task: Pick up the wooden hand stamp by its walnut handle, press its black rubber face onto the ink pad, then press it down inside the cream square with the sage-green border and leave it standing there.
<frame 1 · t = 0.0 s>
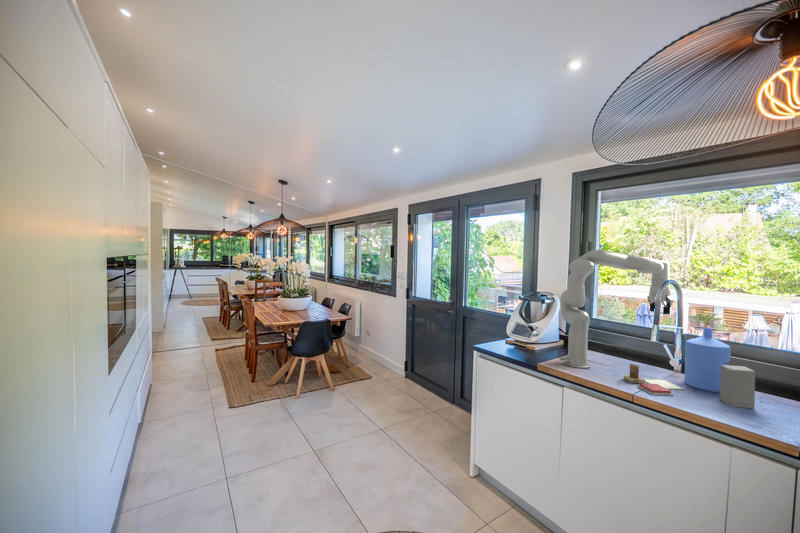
hand: (659, 312, 178), 31 cm above the counter, tool pointing down, fingers open, 9 cm apart
water jug: (706, 387, 151), on the counter
marked square: (661, 384, 152), on the counter
skincare box: (736, 405, 131), on the counter
ink pad: (654, 391, 144), on the counter
wooden stamp: (633, 381, 156), on the counter
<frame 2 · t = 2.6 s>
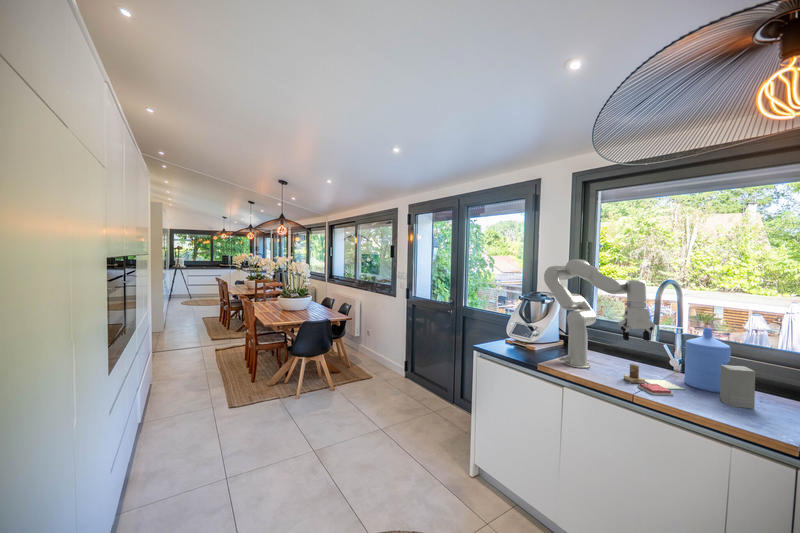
hand: (636, 340, 155), 21 cm above the counter, tool pointing down, fingers open, 9 cm apart
nothing on the counter moved.
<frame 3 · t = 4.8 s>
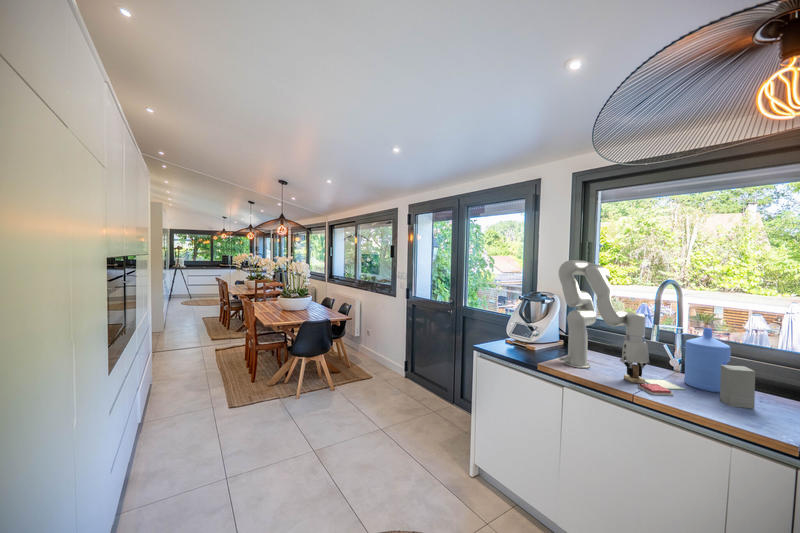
hand: (634, 375, 155), 3 cm above the counter, tool pointing down, fingers closed on wooden stamp, 3 cm apart
wooden stamp: (634, 381, 156), on the counter, touching gripper
everything else where it was.
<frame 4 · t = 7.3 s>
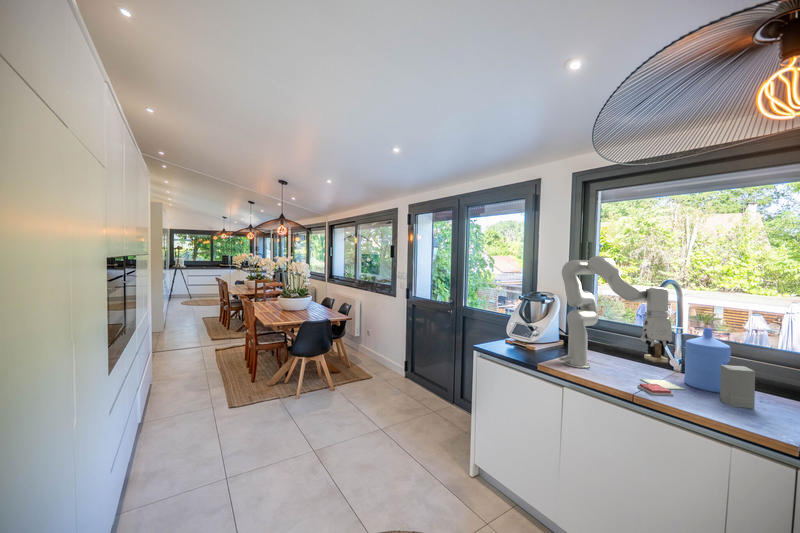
hand: (656, 354, 143), 17 cm above the counter, tool pointing down, fingers closed on wooden stamp, 3 cm apart
wooden stamp: (655, 361, 143), point 14 cm above the counter, touching gripper
everything else where it was.
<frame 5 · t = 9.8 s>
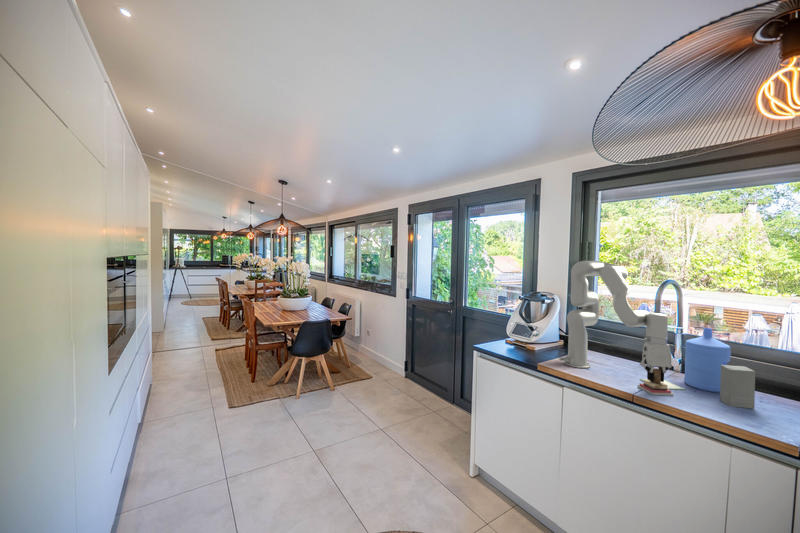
hand: (655, 380, 143), 5 cm above the counter, tool pointing down, fingers closed on wooden stamp, 3 cm apart
wooden stamp: (655, 387, 143), point 2 cm above the counter, touching gripper, ink pad
everything else where it was.
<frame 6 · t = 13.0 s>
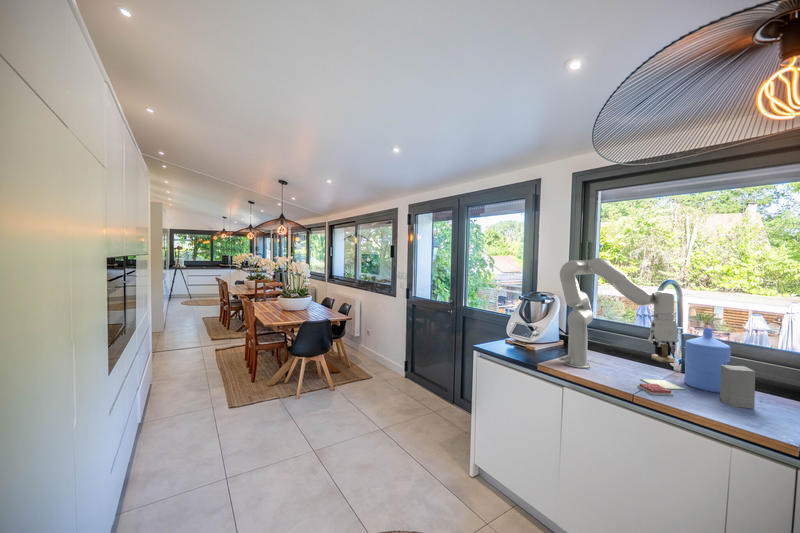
hand: (662, 354, 152), 15 cm above the counter, tool pointing down, fingers closed on wooden stamp, 3 cm apart
wooden stamp: (662, 360, 152), point 11 cm above the counter, touching gripper
everything else where it was.
when the fingers open (4 cm above the counter, at t = 15.1 s): wooden stamp stays where it is, resting on marked square.
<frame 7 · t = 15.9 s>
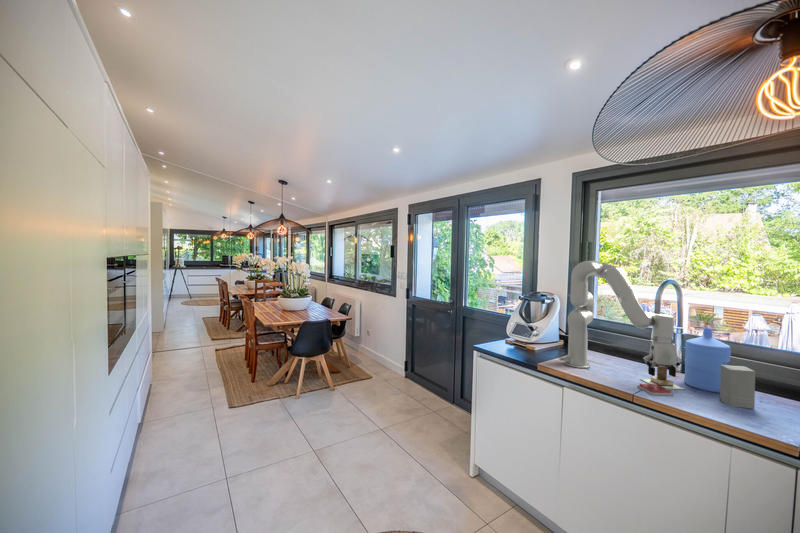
hand: (661, 375, 152), 4 cm above the counter, tool pointing down, fingers open, 9 cm apart
wooden stamp: (661, 383, 152), resting on marked square
everything else where it was.
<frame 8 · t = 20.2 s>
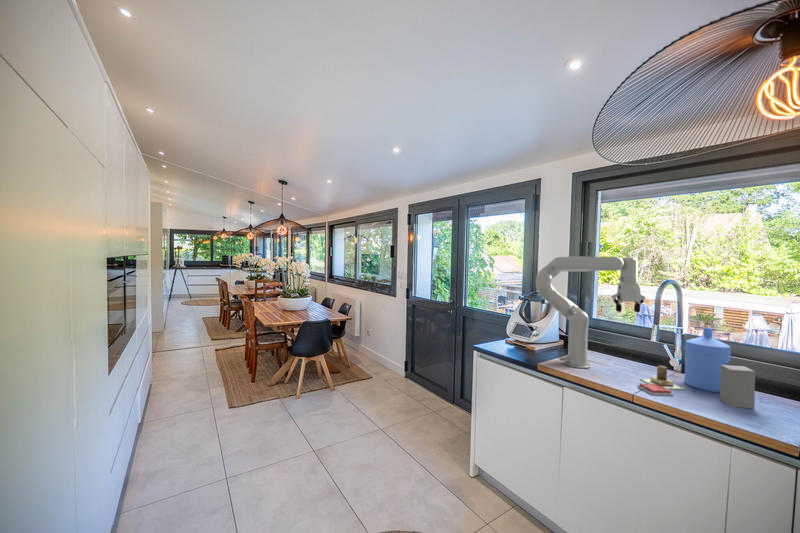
hand: (627, 311, 171), 32 cm above the counter, tool pointing down, fingers open, 9 cm apart
nothing on the counter moved.
at the end: wooden stamp 0.0 cm off-centre on the marked square, point 0.4 cm above the marked square's base; wooden stamp tilted 0°; the gripper is holding nothing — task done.
